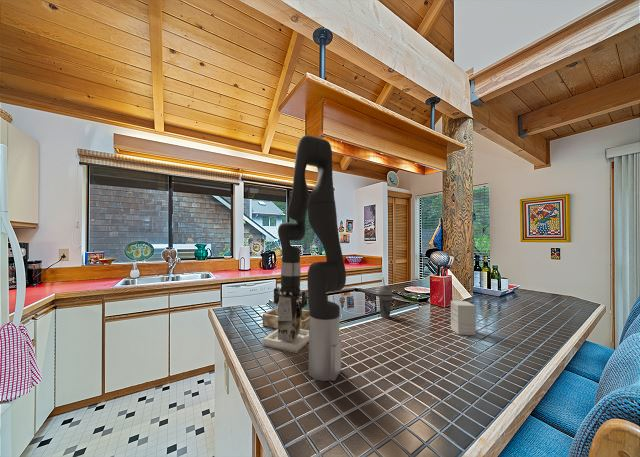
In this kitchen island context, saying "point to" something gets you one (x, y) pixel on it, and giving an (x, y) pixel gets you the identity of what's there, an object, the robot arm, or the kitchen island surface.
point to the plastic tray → (287, 345)
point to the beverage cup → (385, 301)
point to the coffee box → (288, 318)
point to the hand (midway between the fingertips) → (289, 316)
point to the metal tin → (276, 311)
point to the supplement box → (463, 317)
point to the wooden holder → (272, 320)
